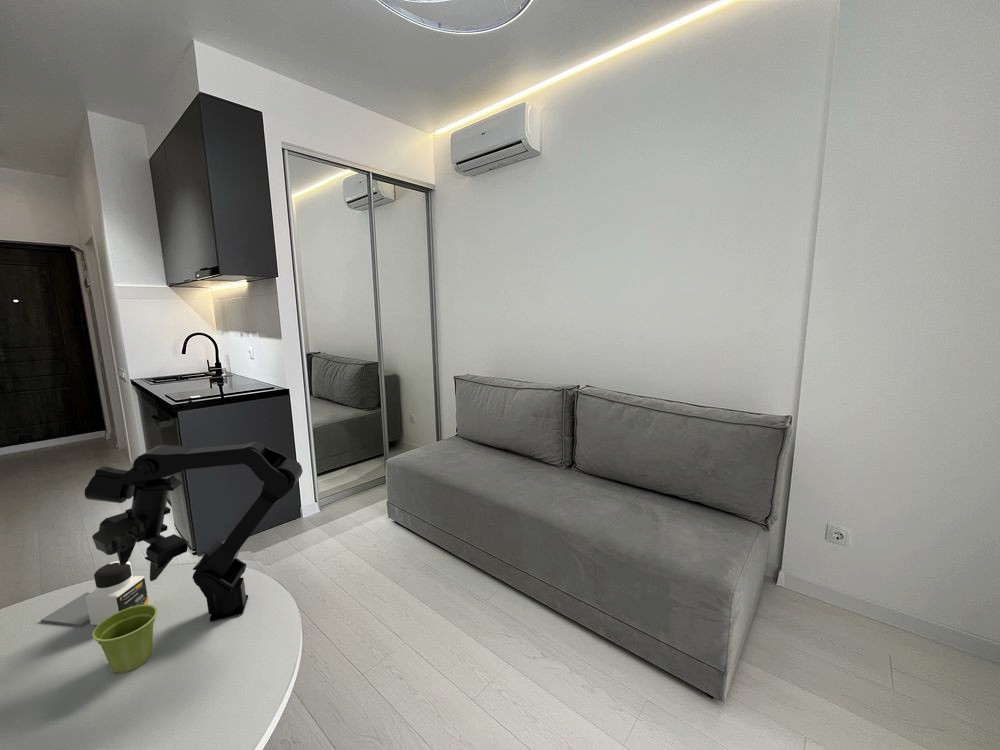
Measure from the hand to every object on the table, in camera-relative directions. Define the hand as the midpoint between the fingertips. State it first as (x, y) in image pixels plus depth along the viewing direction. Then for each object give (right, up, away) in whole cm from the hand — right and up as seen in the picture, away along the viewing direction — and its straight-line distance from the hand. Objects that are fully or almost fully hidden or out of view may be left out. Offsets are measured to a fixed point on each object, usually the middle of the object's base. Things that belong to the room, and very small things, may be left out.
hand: (138, 571), depth 89 cm
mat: (-18, -12, +6) cm, 22 cm away
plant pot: (+6, -14, -8) cm, 17 cm away
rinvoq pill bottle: (-8, -12, +5) cm, 15 cm away
